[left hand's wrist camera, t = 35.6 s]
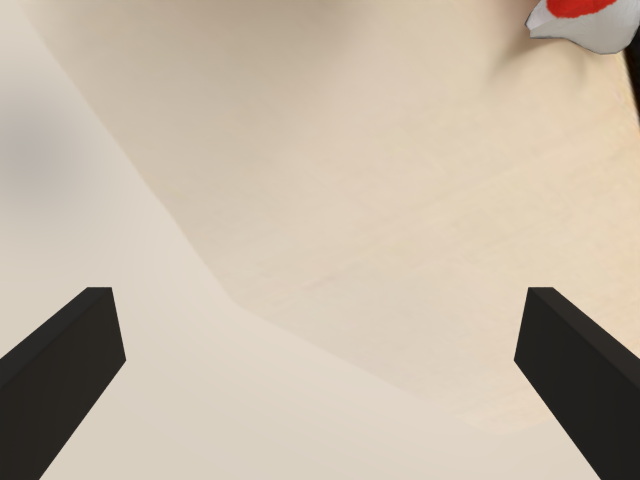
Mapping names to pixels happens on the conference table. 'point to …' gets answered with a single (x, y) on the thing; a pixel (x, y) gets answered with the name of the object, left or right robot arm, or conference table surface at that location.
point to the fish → (587, 23)
